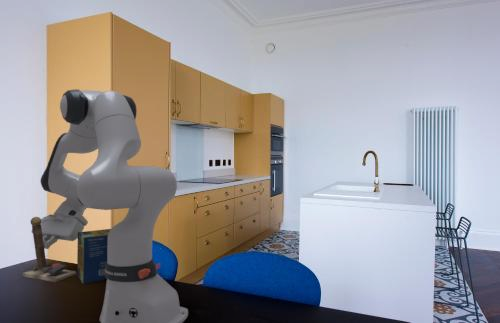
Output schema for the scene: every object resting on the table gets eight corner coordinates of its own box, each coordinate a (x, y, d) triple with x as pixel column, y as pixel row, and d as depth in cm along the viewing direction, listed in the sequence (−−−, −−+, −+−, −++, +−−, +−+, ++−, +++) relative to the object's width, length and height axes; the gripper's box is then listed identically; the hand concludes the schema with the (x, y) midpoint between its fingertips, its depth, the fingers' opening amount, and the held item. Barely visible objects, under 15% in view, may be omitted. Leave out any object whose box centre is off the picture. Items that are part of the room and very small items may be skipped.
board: (75, 274, 120) (76, 267, 120) (55, 282, 112) (56, 274, 112) (43, 269, 125) (43, 262, 125) (22, 276, 118) (22, 268, 118)
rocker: (66, 268, 118) (66, 265, 118) (54, 274, 114) (54, 271, 114) (60, 267, 119) (60, 264, 119) (48, 273, 115) (48, 270, 115)
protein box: (76, 275, 119) (76, 231, 119) (121, 268, 128) (121, 227, 128) (82, 284, 110) (82, 237, 110) (129, 275, 119) (130, 231, 120)
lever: (49, 268, 121) (42, 215, 118) (41, 272, 118) (34, 218, 115) (43, 267, 122) (36, 215, 119) (35, 271, 119) (27, 218, 116)
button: (62, 268, 121) (62, 263, 121) (55, 270, 118) (55, 265, 119) (56, 267, 122) (56, 262, 122) (50, 270, 119) (50, 264, 119)
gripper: (42, 209, 131) (17, 240, 122) (81, 212, 123) (58, 245, 114) (52, 219, 135) (29, 249, 126) (91, 222, 128) (69, 255, 119)
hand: (43, 247), depth 120 cm, fingers closed, pressing on lever
